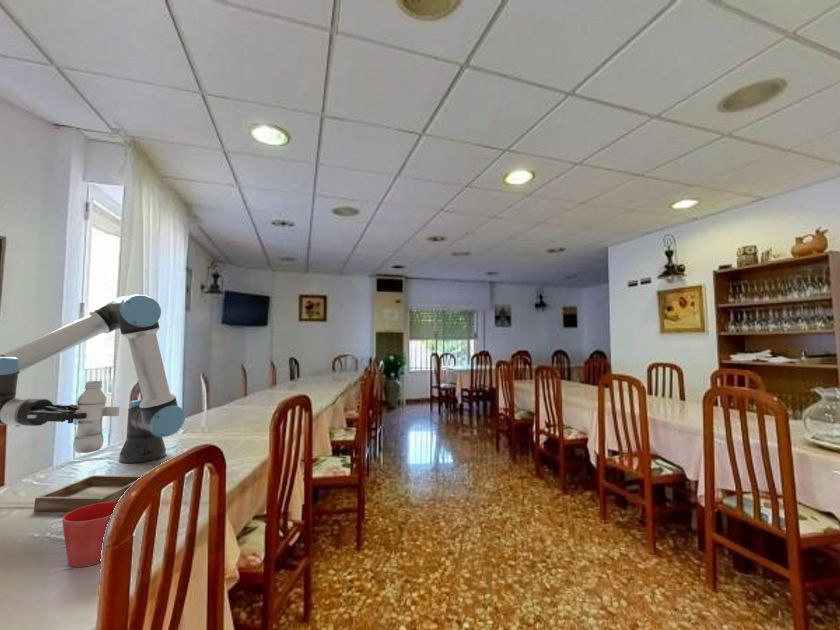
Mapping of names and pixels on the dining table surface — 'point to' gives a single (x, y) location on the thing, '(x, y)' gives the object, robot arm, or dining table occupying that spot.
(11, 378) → the robot arm
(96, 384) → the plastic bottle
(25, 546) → the dining table surface
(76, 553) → the flower pot
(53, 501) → the walnut tray
